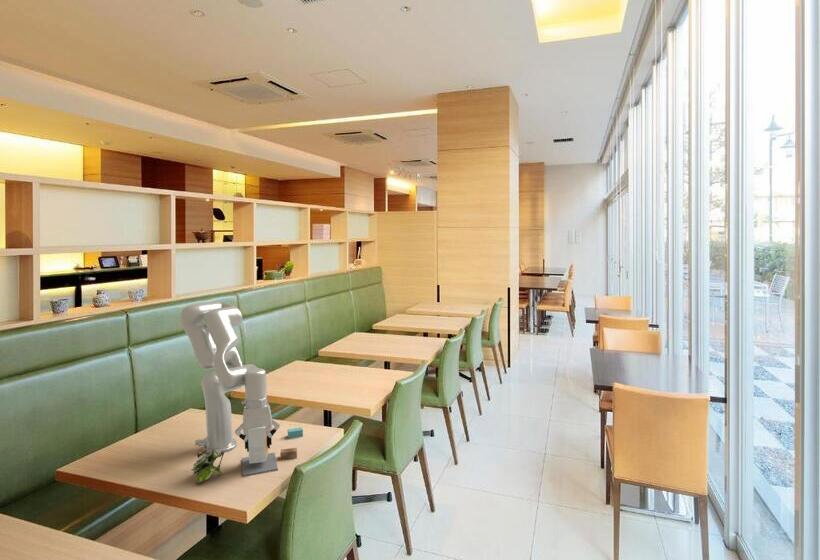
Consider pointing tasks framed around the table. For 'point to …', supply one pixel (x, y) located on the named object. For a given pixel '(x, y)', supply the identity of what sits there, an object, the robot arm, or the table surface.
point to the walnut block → (288, 453)
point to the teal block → (295, 432)
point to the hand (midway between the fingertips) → (258, 448)
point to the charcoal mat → (259, 465)
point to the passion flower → (206, 465)
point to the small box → (257, 444)
